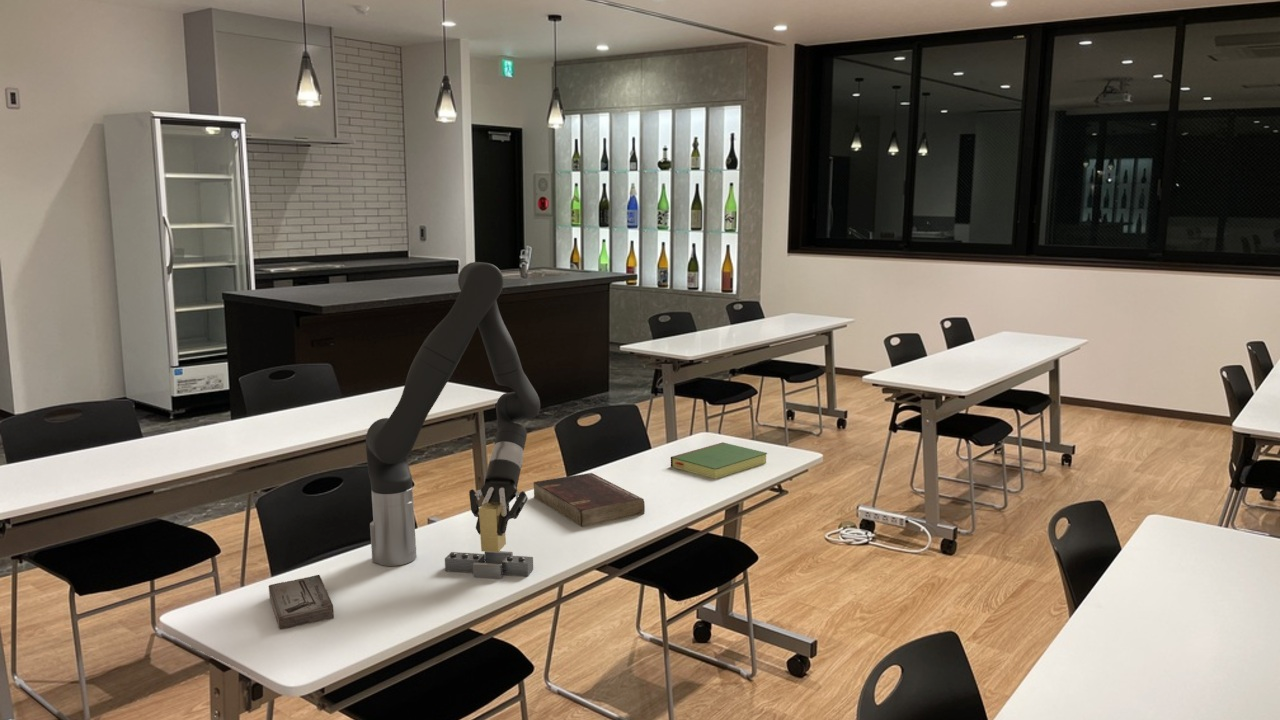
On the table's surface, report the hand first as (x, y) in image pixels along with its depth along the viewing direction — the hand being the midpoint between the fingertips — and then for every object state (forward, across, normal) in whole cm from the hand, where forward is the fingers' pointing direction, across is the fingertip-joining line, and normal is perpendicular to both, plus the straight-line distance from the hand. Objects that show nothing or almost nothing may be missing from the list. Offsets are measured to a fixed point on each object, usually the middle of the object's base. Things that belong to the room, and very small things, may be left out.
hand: (489, 533), depth 209 cm
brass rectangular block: (+2, 0, +4) cm, 5 cm away
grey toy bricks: (+6, 0, +8) cm, 10 cm away
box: (+23, -33, -10) cm, 42 cm away
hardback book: (-28, +10, +43) cm, 52 cm away
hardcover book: (-58, +40, +75) cm, 103 cm away
